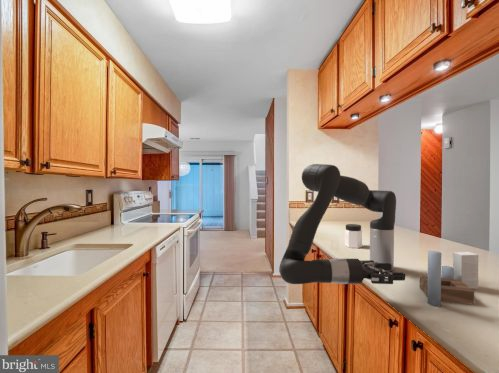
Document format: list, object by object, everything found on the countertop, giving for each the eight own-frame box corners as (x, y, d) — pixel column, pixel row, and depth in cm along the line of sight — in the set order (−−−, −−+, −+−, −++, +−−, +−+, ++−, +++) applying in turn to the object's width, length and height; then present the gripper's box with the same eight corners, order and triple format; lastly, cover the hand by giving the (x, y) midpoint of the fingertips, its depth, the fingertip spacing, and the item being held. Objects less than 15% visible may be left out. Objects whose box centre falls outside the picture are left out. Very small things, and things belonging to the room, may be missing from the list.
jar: (351, 243, 159) (351, 223, 159) (364, 246, 153) (364, 225, 153) (342, 246, 154) (342, 225, 154) (355, 249, 148) (355, 227, 147)
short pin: (440, 284, 99) (440, 265, 98) (451, 285, 98) (451, 266, 97) (443, 288, 95) (444, 268, 95) (455, 289, 94) (455, 269, 94)
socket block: (419, 287, 96) (419, 276, 96) (459, 291, 93) (459, 279, 93) (428, 299, 87) (428, 287, 87) (473, 304, 83) (474, 291, 83)
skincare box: (468, 284, 99) (468, 251, 98) (478, 288, 95) (479, 254, 94) (451, 284, 99) (452, 251, 98) (461, 289, 94) (462, 255, 94)
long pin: (425, 300, 86) (426, 250, 86) (438, 302, 85) (439, 251, 84) (429, 305, 83) (430, 253, 82) (442, 307, 82) (443, 254, 81)
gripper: (351, 266, 77) (410, 266, 77) (337, 252, 92) (386, 252, 91) (351, 292, 78) (410, 293, 77) (337, 274, 92) (386, 275, 91)
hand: (397, 271), depth 84 cm, fingers open, 8 cm apart
